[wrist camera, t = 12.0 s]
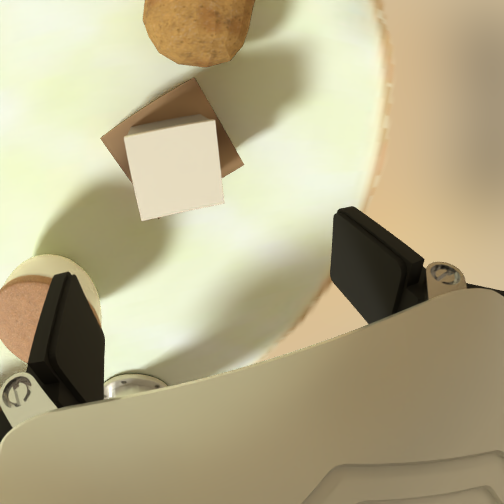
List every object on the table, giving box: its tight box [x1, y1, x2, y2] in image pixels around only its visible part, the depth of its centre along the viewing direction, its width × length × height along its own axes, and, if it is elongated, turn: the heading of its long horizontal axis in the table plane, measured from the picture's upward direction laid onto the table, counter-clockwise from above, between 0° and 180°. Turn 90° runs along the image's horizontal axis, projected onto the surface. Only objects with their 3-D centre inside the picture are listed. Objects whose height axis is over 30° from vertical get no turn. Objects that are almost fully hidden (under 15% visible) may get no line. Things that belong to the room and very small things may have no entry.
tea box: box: [100, 78, 244, 219], centre depth 28 cm, size 9×9×5 cm
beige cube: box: [124, 114, 224, 221], centre depth 23 cm, size 6×6×6 cm
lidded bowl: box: [0, 254, 102, 363], centre depth 29 cm, size 13×13×11 cm
